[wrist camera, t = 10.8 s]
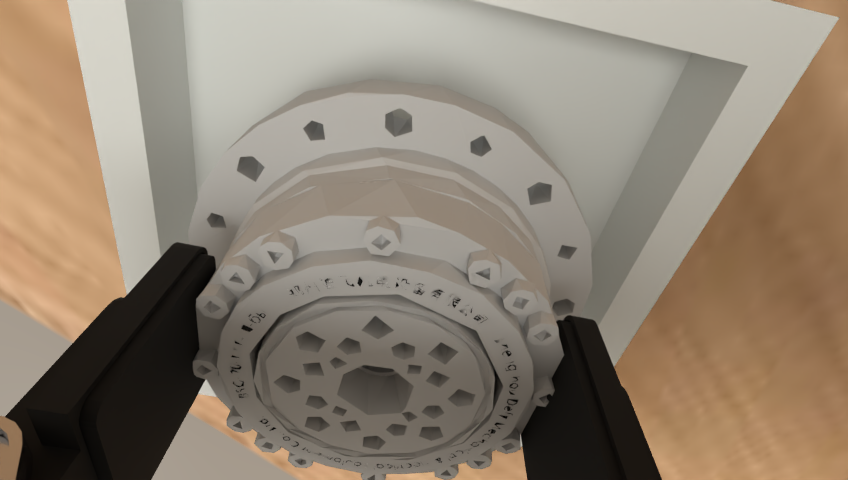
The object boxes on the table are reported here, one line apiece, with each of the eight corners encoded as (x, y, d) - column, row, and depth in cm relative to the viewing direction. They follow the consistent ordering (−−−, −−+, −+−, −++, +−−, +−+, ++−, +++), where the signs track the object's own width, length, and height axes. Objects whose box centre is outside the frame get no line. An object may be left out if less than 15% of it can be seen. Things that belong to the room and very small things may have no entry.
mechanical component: (646, 281, 13) (412, -35, 9) (727, 419, 9) (390, -16, 5) (386, 417, 17) (139, 238, 13) (370, 553, 13) (15, 361, 9)
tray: (750, -1, 12) (839, 17, 9) (543, 384, 20) (558, 452, 17) (135, -155, 11) (29, -186, 8) (187, 322, 19) (145, 385, 16)
